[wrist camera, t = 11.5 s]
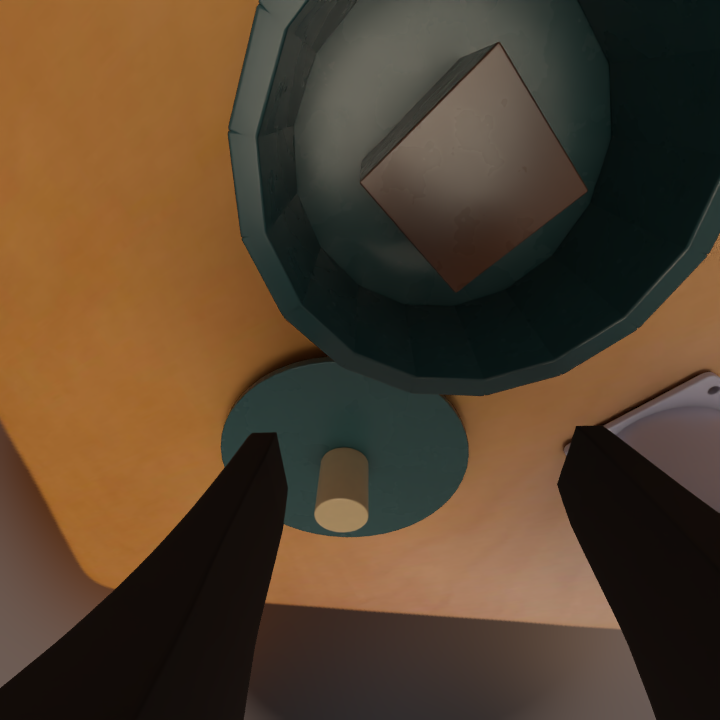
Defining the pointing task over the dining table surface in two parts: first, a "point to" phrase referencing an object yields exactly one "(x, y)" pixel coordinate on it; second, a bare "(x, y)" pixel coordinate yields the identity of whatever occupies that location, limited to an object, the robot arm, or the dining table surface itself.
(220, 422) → the dining table surface
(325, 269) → the container
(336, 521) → the cover
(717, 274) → the dining table surface
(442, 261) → the block
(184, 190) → the dining table surface
